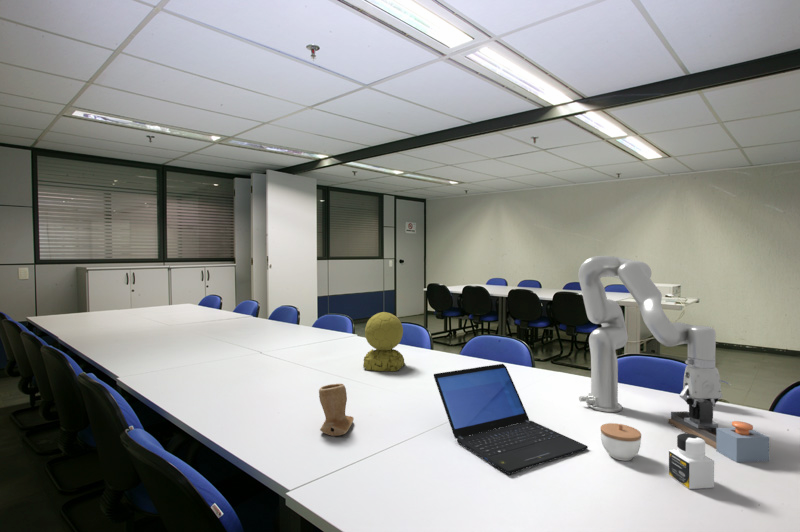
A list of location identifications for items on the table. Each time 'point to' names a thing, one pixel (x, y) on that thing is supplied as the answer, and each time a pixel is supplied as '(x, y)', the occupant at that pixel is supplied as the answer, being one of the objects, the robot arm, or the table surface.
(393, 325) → the trophy
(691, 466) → the medicine bottle
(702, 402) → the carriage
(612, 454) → the lidded jar
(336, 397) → the tan hollow upright piece
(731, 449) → the button housing
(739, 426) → the button
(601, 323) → the robot arm
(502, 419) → the laptop
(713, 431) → the slide rail track
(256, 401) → the table surface
